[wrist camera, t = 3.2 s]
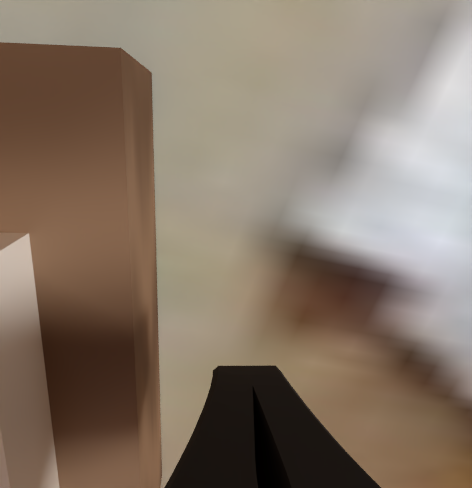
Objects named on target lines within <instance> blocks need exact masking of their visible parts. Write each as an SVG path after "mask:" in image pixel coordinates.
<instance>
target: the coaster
mask: <svg viewBox="0 0 472 488" xmlns="http://www.w3.org/2000/svg"><path fill="white" fill-rule="evenodd" d="M0 488H59V480H58V471H57V463H56V455H55V446H54V438H53V430H52V421H51V413H50V405H49V396H48V388H47V380H46V371H45V363H44V355H43V346H42V338H41V330H40V321H39V313H38V305H37V296H36V288H35V280H34V271H33V263H32V255H31V246H30V238H29V233H0Z"/></svg>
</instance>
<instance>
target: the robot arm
mask: <svg viewBox="0 0 472 488" xmlns="http://www.w3.org/2000/svg"><path fill="white" fill-rule="evenodd" d="M165 488H381V487H380V486H379V485H378V484H377V483H376V482H375V481H374V480H373V479H372V478H371V477H370V476H369V475H368V474H367V473H366V472H365V471H364V470H363V469H362V468H361V467H360V466H359V465H358V464H357V463H356V462H355V461H354V460H353V459H352V457H351V456H350V455H349V454H348V453H347V452H346V451H345V450H344V449H343V448H342V447H341V446H340V444H339V443H338V442H337V441H336V440H335V439H334V438H333V437H332V435H331V434H330V433H329V432H328V431H327V430H326V428H325V427H324V426H323V425H322V424H321V423H320V421H319V420H318V419H317V418H316V417H315V415H314V414H313V413H312V412H311V411H310V409H309V408H308V407H307V406H306V404H305V403H304V402H303V400H302V399H301V398H300V397H299V395H298V394H297V393H296V391H295V390H294V389H293V387H292V386H291V385H290V383H289V382H288V381H287V379H286V378H285V377H284V375H283V374H282V372H281V371H280V370H279V369H278V368H277V367H276V366H218V367H217V368H216V369H214V370H213V377H212V382H211V387H210V390H209V394H208V397H207V399H206V402H205V405H204V408H203V410H202V413H201V415H200V417H199V420H198V422H197V425H196V427H195V429H194V432H193V434H192V436H191V438H190V440H189V442H188V444H187V446H186V448H185V450H184V452H183V454H182V456H181V458H180V460H179V462H178V464H177V466H176V468H175V470H174V472H173V474H172V475H171V477H170V479H169V481H168V482H167V484H166V486H165Z"/></svg>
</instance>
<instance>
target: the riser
mask: <svg viewBox="0 0 472 488" xmlns="http://www.w3.org/2000/svg"><path fill="white" fill-rule="evenodd" d="M0 233H29V238H30V246H31V255H32V263H33V271H34V280H35V288H36V296H37V305H38V313H39V321H40V330H41V338H42V346H43V355H44V363H45V371H46V380H47V388H48V396H49V405H50V413H51V421H52V430H53V438H54V446H55V455H56V463H57V471H58V480H59V488H160V485H161V478H162V462H161V423H160V384H159V345H158V306H157V267H156V229H155V190H154V151H153V112H152V73H151V72H150V71H149V70H148V69H146V68H145V67H144V66H143V65H141V64H140V63H139V62H138V61H136V60H135V59H134V58H133V57H131V56H130V55H129V54H128V53H126V52H125V51H124V50H123V49H121V48H110V47H88V46H66V45H44V44H22V43H1V42H0Z"/></svg>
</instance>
